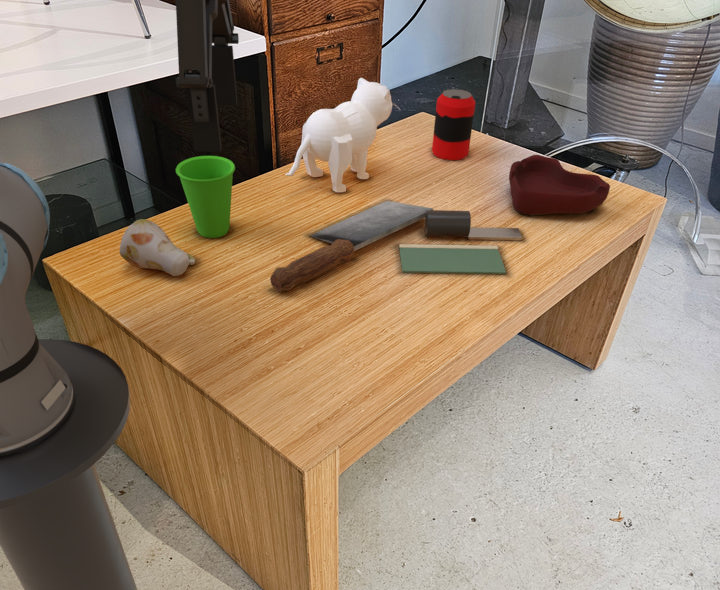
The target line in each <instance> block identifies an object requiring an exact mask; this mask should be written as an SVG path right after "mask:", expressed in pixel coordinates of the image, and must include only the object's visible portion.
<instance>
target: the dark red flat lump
mask: <svg viewBox="0 0 720 590" xmlns="http://www.w3.org/2000/svg"><path fill="white" fill-rule="evenodd" d="M508 182H509V187H510V196H511V197H510V198H511V201H512V207H513V209H514V210H515V211H516V212H517V213H518V214H519V215H522V216H525V217H527V216H529V217H530V216H534V215H535V216H537V215H539V216H540V215H551V214H552V215H554V214H584V213H593V212H594V211H595V209H597V208H599V207H600V206H601V205H603V204H604V202H605V201H606V200H607V198H608V196H609V193H610V189H611V185H610V183H608V182H606V181H605V180H604V179H603V178H602V177H600V176H599V175H597V174H590V173H579V172H573V171H569V170H567V169H565V168H564V167H563V166H562V164H561V163H560V160H559V159H558V158H554V157H548V156H543V155H540V154H532V155H529V156H528V157H525V158H523V159H521V160H517V161H514V162H513V163H511V166H510V169H509V173H508Z"/></svg>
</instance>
